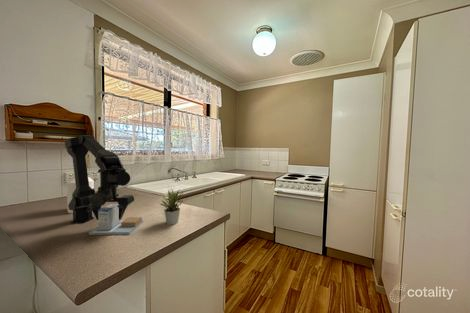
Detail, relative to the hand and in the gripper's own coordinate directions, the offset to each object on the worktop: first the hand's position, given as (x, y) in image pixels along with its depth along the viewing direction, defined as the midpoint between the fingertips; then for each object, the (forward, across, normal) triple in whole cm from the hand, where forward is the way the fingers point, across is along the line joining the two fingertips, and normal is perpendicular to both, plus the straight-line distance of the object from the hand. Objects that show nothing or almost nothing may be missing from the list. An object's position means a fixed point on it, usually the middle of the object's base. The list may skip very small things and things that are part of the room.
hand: (109, 219), depth 80 cm
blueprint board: (+4, +3, +1) cm, 5 cm away
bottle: (+4, -32, +26) cm, 41 cm away
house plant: (+4, +26, +7) cm, 27 cm away
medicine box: (+3, 0, 0) cm, 3 cm away
